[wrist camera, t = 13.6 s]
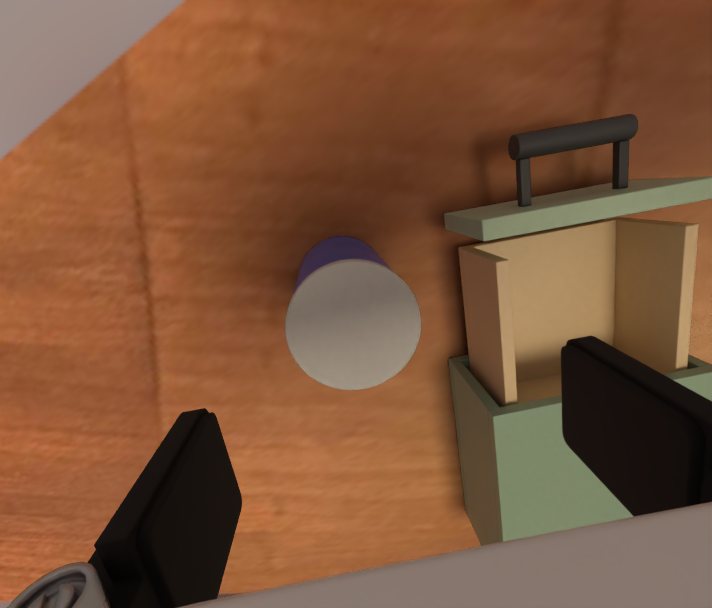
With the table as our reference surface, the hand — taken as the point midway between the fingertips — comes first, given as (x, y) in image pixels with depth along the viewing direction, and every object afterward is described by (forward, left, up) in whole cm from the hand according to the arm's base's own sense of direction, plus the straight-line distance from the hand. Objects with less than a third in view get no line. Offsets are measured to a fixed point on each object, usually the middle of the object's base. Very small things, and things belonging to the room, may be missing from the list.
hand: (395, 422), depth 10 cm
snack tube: (0, 0, -19) cm, 19 cm away
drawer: (+2, +14, -18) cm, 23 cm away
